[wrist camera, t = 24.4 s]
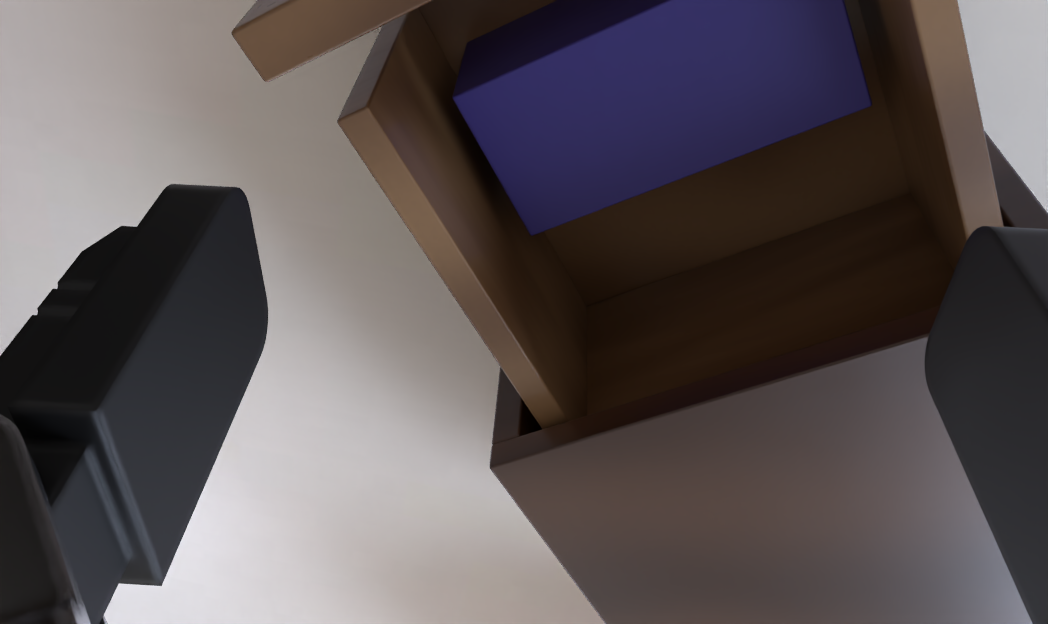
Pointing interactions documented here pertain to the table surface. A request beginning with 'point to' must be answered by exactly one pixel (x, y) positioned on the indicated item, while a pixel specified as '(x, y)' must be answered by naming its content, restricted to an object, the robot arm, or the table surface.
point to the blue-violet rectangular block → (648, 93)
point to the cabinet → (772, 488)
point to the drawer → (666, 206)
